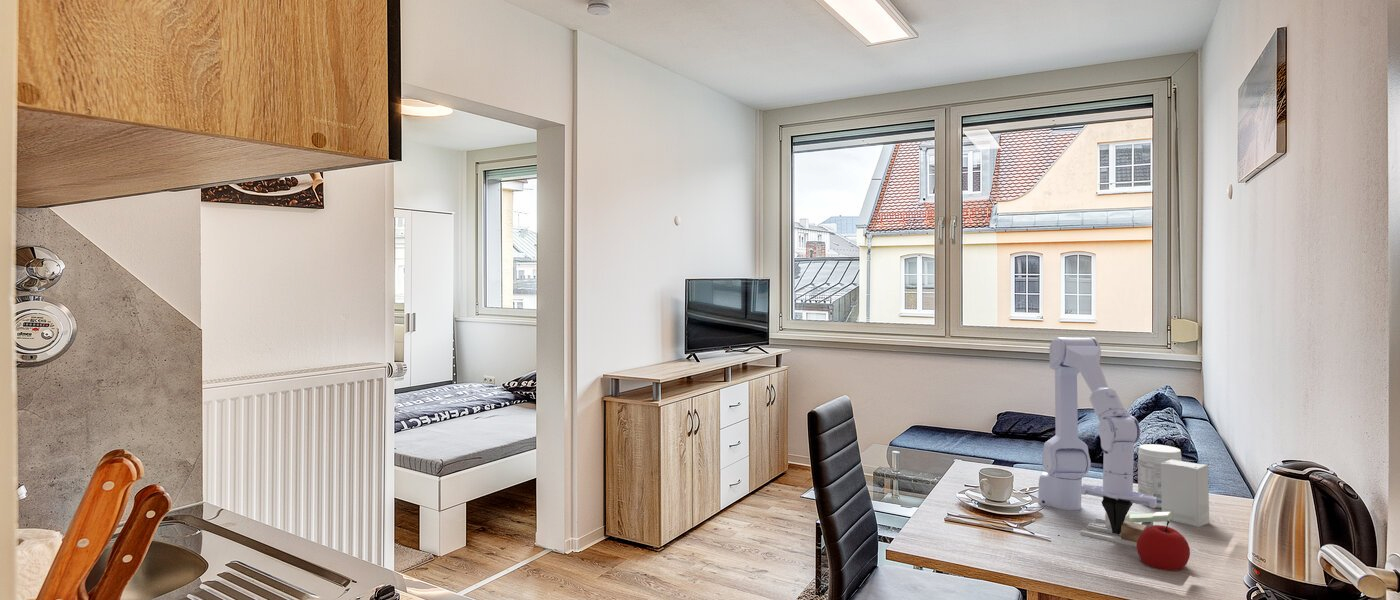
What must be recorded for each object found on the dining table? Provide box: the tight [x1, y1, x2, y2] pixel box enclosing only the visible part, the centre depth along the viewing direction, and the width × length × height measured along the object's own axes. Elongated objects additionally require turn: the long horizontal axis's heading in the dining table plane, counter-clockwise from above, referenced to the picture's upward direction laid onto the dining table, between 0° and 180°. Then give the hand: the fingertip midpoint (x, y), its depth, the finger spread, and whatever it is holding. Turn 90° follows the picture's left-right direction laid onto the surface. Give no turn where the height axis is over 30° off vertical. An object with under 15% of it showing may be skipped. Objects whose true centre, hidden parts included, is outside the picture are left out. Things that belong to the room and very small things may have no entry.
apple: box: [1136, 520, 1191, 572], centre depth 146 cm, size 9×9×10 cm
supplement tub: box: [1137, 443, 1182, 509], centre depth 189 cm, size 10×10×15 cm
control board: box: [1079, 517, 1154, 547], centre depth 165 cm, size 20×22×3 cm
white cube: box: [1104, 512, 1131, 527], centre depth 167 cm, size 4×4×4 cm
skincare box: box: [1161, 459, 1210, 528], centre depth 173 cm, size 8×6×15 cm
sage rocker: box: [1129, 511, 1172, 523], centre depth 167 cm, size 9×4×1 cm, turn 47°
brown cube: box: [1120, 521, 1147, 542], centre depth 158 cm, size 4×4×4 cm
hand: (1116, 532), depth 161 cm, fingers closed
